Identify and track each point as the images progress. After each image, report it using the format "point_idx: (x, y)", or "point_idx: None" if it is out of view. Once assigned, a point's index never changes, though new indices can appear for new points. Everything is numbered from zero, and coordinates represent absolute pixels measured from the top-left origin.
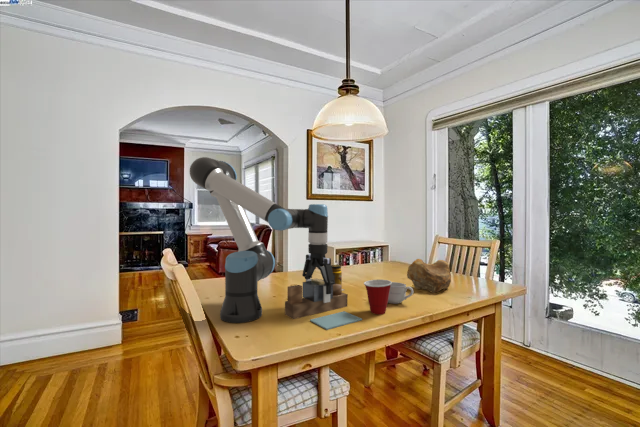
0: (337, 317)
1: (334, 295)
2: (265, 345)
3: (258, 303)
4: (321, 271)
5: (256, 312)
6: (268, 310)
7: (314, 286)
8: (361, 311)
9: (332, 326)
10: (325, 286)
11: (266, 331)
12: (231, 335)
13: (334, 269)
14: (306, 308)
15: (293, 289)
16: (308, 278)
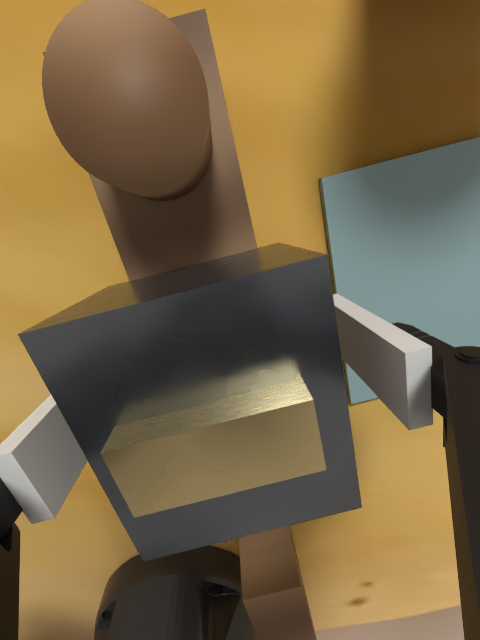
0: (393, 271)
1: (202, 187)
2: (454, 552)
3: (203, 620)
4: None
5: None
6: None
7: (360, 501)
8: (353, 31)
9: (475, 342)
10: (425, 409)
11: (363, 542)
12: (342, 612)
13: None
14: None
15: (310, 616)
16: (6, 502)
